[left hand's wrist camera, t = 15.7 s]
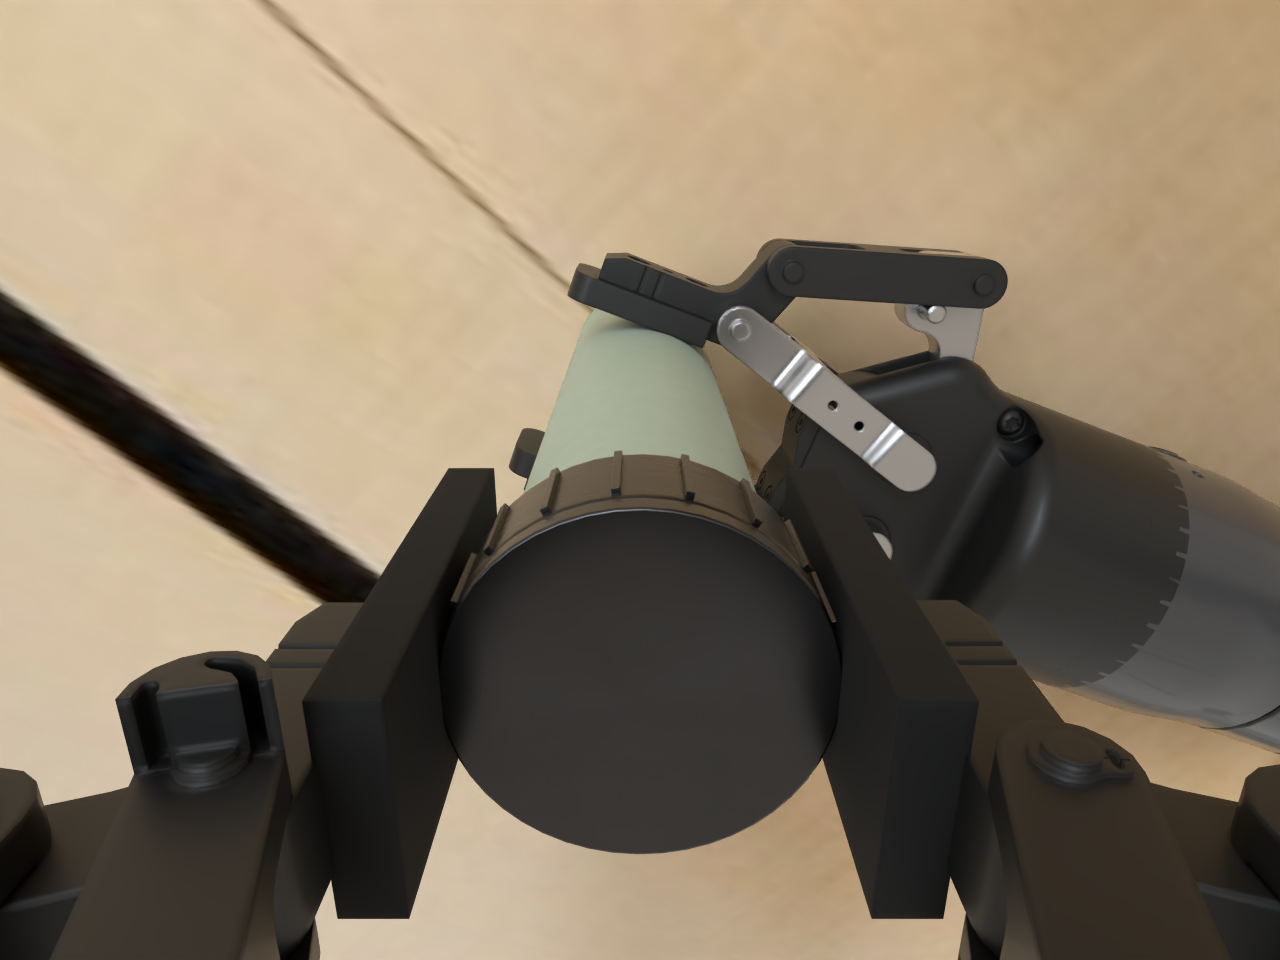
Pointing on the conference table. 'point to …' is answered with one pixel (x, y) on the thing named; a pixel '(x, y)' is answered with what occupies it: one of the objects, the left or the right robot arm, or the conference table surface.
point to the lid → (640, 657)
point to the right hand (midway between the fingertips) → (546, 368)
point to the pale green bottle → (637, 402)
